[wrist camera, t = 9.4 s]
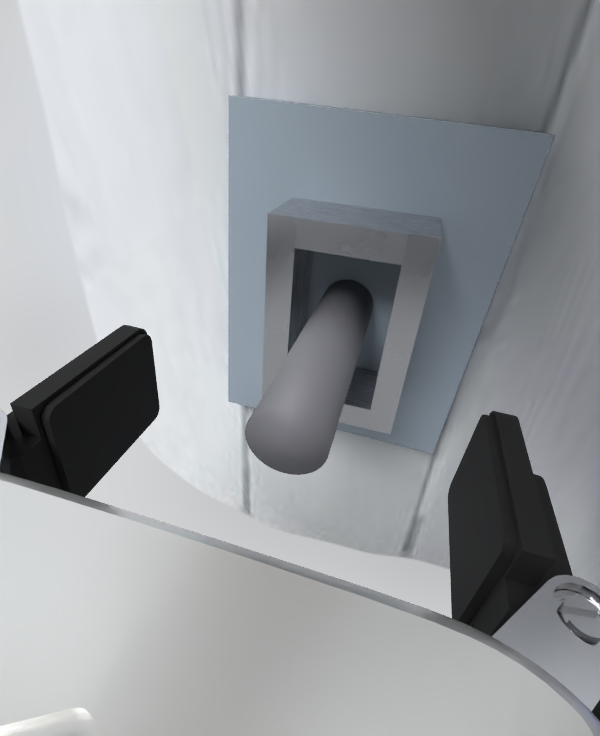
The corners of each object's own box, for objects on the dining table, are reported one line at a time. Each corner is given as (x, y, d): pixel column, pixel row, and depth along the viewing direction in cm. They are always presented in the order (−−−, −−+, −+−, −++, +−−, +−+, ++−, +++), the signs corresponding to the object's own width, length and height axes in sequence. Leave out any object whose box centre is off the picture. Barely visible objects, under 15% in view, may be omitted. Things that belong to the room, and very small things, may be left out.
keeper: (244, 96, 16) (26, 82, 7) (544, 132, 14) (712, 170, 6) (239, 386, 24) (128, 542, 15) (432, 434, 22) (431, 644, 13)
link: (293, 197, 16) (267, 213, 14) (440, 217, 15) (441, 238, 13) (282, 368, 20) (261, 404, 18) (395, 393, 19) (390, 434, 17)
